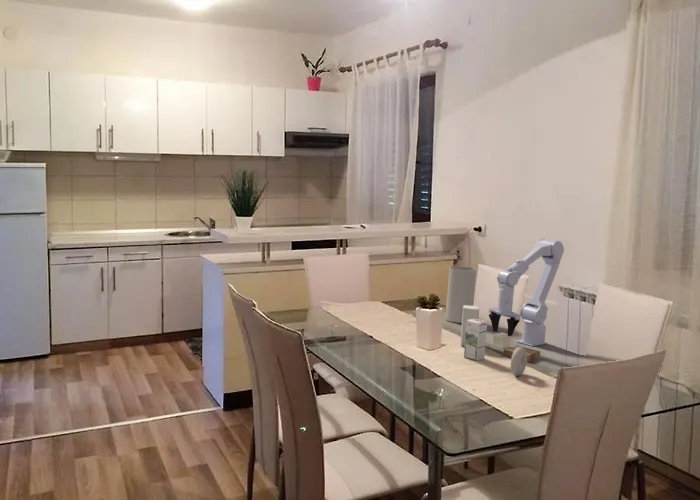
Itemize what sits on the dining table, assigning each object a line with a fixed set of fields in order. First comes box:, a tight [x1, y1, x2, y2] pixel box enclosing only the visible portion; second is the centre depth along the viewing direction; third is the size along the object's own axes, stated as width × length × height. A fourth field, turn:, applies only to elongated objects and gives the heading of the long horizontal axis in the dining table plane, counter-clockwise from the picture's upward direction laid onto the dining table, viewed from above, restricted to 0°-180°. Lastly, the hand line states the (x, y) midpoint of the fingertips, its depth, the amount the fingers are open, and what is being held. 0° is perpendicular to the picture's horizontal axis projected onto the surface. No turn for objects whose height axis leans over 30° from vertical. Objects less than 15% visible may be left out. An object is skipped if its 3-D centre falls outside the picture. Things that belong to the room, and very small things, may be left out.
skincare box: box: [460, 305, 480, 347], centre depth 266 cm, size 8×7×16 cm
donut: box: [510, 346, 528, 377], centre depth 228 cm, size 10×4×10 cm, turn 147°
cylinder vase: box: [445, 265, 477, 324], centre depth 309 cm, size 12×12×25 cm
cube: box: [492, 332, 512, 350], centre depth 267 cm, size 5×5×5 cm
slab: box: [502, 345, 541, 363], centre depth 253 cm, size 10×10×3 cm
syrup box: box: [463, 319, 488, 361], centre depth 246 cm, size 6×6×14 cm
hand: (502, 333), depth 267 cm, fingers open, 7 cm apart
